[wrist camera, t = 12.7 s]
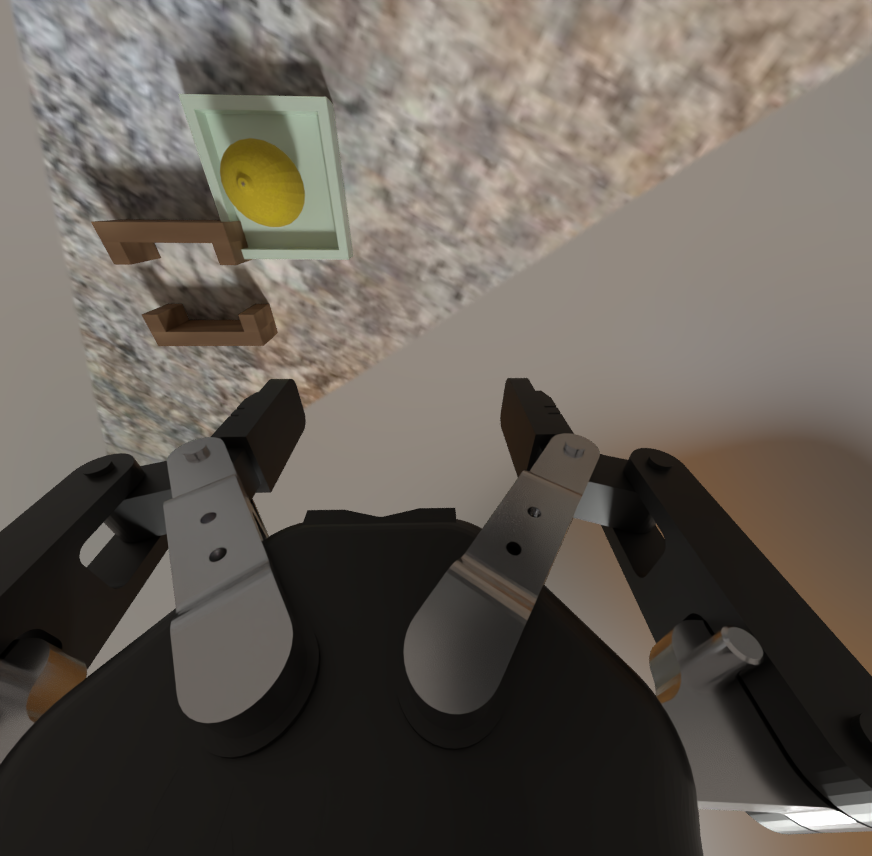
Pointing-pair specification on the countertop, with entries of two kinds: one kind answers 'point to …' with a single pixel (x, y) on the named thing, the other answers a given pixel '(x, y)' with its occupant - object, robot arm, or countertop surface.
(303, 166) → the dish
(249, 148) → the lemon
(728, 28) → the countertop surface
